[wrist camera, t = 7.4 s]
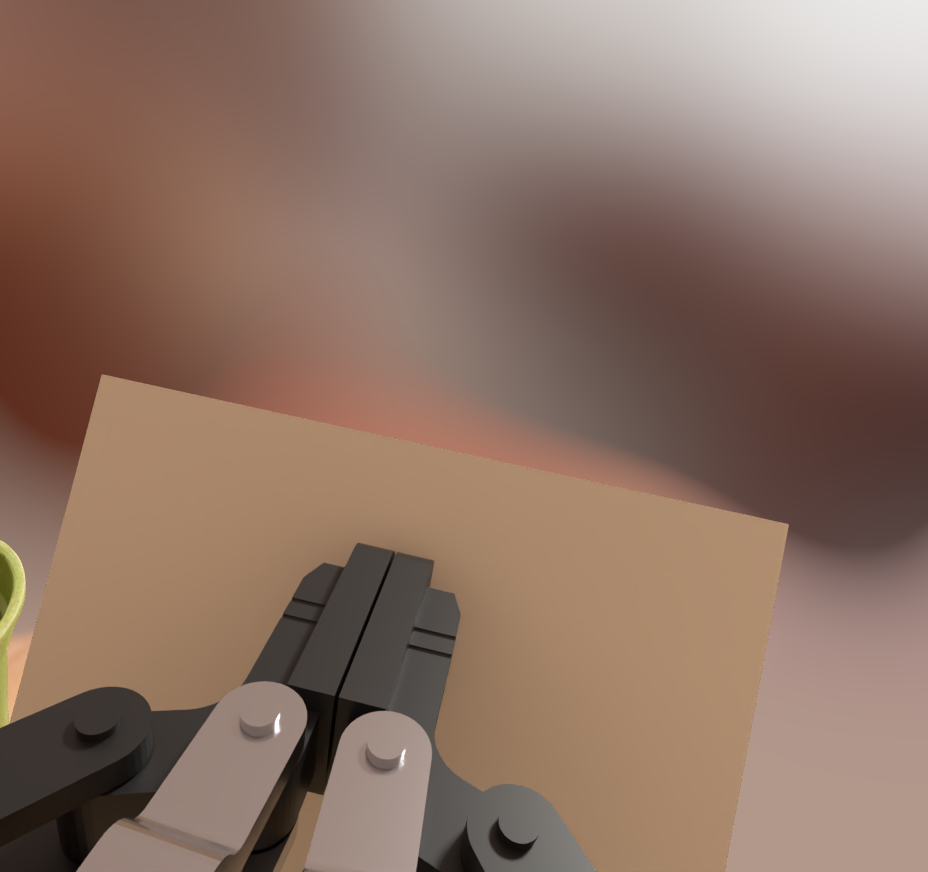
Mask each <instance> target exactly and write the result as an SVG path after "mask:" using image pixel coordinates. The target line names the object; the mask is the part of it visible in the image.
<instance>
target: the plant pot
mask: <svg viewBox="0 0 928 872" xmlns="http://www.w3.org/2000/svg"><path fill="white" fill-rule="evenodd" d="M25 594H26V583H25V574H24V569H23V566H22V563H21V561H20V559H19V557H18V556H17V554H16V553H15V552H14V551H13V550H12V549H11V548H10V547H9V546H8V545H7V544H5V543H4V542H3V541H1V540H0V728H1V727H3V726H6V725H8V724H9V715H8V669H7V647H8V645H9V642H10V639H11V636H12V631H13V627H14V625H15V623H16V621H17V619H18V617H19V615H20V613H21V610H22V607H23V604H24V599H25Z"/></svg>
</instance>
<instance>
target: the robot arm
mask: <svg viewBox="0 0 928 872" xmlns="http://www.w3.org/2000/svg"><path fill="white" fill-rule="evenodd" d="M433 567H434V560H430V559H426V558H422V557H417V556H413V555H409V554H404V553H400V552H397V553H396V555H395V551H392V550H388V549H384V548H380V547H375V546H371V545H367V544H362V543H357V544H356V546H355V547H354V549H353V551H352V553H351V556H350V558H349V560H348V562H347V564H346V566H345V567H341V566H337V565H332V564H328V563H322V564H321V565H320V566H318V567H317V568H316V569H314V570H313V571H311V572H310V573H309V574H307V575H306V576H305V577H303V579H302V581H301V582H300V584H299V586H298V588H297V590H296V591H295V593H294V595H293V597H292V600H291V601H290V602H289V604H288V605H287V607H286V609H285V611H284V613H283V616H282V618H280V620H279V621H278V623H277V625H276V627H275V628H274V630H273V632H272V634H271V636H270V637H269V639H268V641H267V643H266V644H265V646H264V648H263V650H262V652H261V653H260V655H259V657H258V659H257V660H256V662H255V664H254V666H253V667H252V669H251V671H250V673H249V675H248V676H247V678H246V679H245V681H244V682H243V684H242V685H241V686H240V687H238V688H236V689H234V690H232V691H231V692H229V693H228V694H227V695H226V696H224V697H223V698H222V699H221V700H220V701H219V702H217V703H215V704H212V705H209V706H206V707H201V708H197V709H188V710H166V711H151V708H150V705H149V703H148V702H147V700H146V699H145V698H144V697H143V696H142V695H140V694H139V693H137V692H135V691H133V690H131V689H127V688H123V687H101V688H96V689H92V690H89V691H86V692H83V693H81V694H78V695H76V696H74V697H71V698H69V699H66V700H64V701H62V702H59V703H57V704H55V705H52V706H50V707H48V708H45V709H43V710H41V711H38V712H36V713H34V714H31V715H29V716H27V717H24V718H22V719H20V720H17V721H15V722H13V723H10V724H8V725H6V726H3V727H1V728H0V872H281V869H282V867H283V865H284V863H285V861H286V859H287V857H288V854H289V852H290V850H291V848H292V846H293V844H294V841H295V838H296V835H297V829H298V818H299V812H300V810H301V807H302V805H303V802H304V799H305V797H306V794H307V792H311V793H315V794H319V795H324V792H325V790H326V792H325V795H324V799H323V802H322V806H321V810H320V813H319V817H318V820H317V824H316V828H315V831H314V835H313V838H312V842H311V846H310V849H309V853H308V856H307V860H306V863H305V866H304V869H303V871H302V872H596V870H595V868H594V867H593V865H592V864H591V862H590V861H589V859H588V858H587V856H586V855H585V853H584V852H583V850H582V849H581V847H580V846H579V844H578V843H577V841H576V840H575V838H574V837H573V835H572V833H571V832H570V830H569V829H568V827H567V826H566V824H565V823H564V821H563V820H562V818H561V817H560V815H559V814H558V812H557V811H556V809H555V808H554V807H553V806H552V804H551V803H550V802H549V801H548V800H547V799H546V798H544V797H543V796H542V795H540V794H539V793H537V792H535V791H534V790H532V789H530V788H527V787H524V786H520V785H515V784H502V785H497V786H494V787H491V788H489V789H487V790H485V791H484V792H482V791H481V790H479V789H478V788H476V787H474V786H473V785H471V784H469V783H468V782H466V781H465V780H463V779H462V778H460V777H459V776H457V775H456V774H455V773H454V772H453V771H452V770H451V769H449V767H448V766H447V765H446V764H445V762H444V761H443V759H442V758H441V756H440V754H439V752H438V749H437V747H436V742H435V729H436V724H437V720H438V715H439V711H440V707H441V703H442V698H443V694H444V690H445V685H446V681H447V677H448V672H449V668H450V663H451V659H452V654H453V649H454V645H455V640H456V636H457V631H458V626H459V622H460V617H461V613H460V610H459V607H458V604H457V600H456V597H455V594H454V593H450V592H446V591H442V590H437V589H433V588H430V583H431V578H432V573H433ZM326 787H327V788H326Z"/></svg>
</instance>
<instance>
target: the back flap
mask: <svg viewBox="0 0 928 872" xmlns="http://www.w3.org/2000/svg"><path fill="white" fill-rule="evenodd" d="M788 526H789V525H788V524H785V523H780V522H776V521H771V520H767V519H762V518H758V517H752V516H748V515H744V514H739V513H735V512H730V511H725V510H721V509H716V508H712V507H707V506H702V505H698V504H693V503H689V502H684V501H679V500H675V499H671V498H665V497H661V496H657V495H652V494H647V493H643V492H638V491H634V490H629V489H625V488H620V487H616V486H611V485H606V484H601V483H597V482H592V481H588V480H583V479H579V478H574V477H570V476H565V475H561V474H556V473H551V472H547V471H542V470H537V469H533V468H528V467H524V466H519V465H514V464H510V463H505V462H501V461H496V460H491V459H487V458H483V457H478V456H473V455H469V454H464V453H460V452H455V451H451V450H446V449H441V448H437V447H432V446H428V445H423V444H418V443H414V442H409V441H404V440H400V439H396V438H391V437H386V436H381V435H377V434H373V433H368V432H363V431H358V430H354V429H350V428H345V427H341V426H336V425H331V424H327V423H322V422H318V421H313V420H308V419H304V418H299V417H295V416H290V415H285V414H281V413H276V412H272V411H267V410H263V409H258V408H253V407H249V406H244V405H239V404H235V403H230V402H226V401H221V400H216V399H212V398H207V397H203V396H198V395H194V394H189V393H185V392H180V391H175V390H171V389H166V388H161V387H157V386H153V385H148V384H144V383H139V382H134V381H130V380H125V379H121V378H116V377H111V376H107V375H102V376H101V380H100V384H99V388H98V391H97V395H96V399H95V403H94V407H93V410H92V414H91V418H90V422H89V425H88V429H87V433H86V437H85V441H84V444H83V448H82V452H81V456H80V459H79V463H78V467H77V471H76V475H75V479H74V482H73V486H72V489H71V494H70V497H69V501H68V505H67V509H66V513H65V516H64V520H63V524H62V528H61V531H60V535H59V539H58V543H57V546H56V550H55V554H54V558H53V562H52V566H51V569H50V573H49V577H48V580H47V584H46V588H45V592H44V595H43V599H42V603H41V607H40V611H39V615H38V618H37V622H36V626H35V630H34V633H33V637H32V641H31V645H30V648H29V652H28V656H27V660H26V664H25V667H24V671H23V675H22V679H21V683H20V686H19V690H18V694H17V698H16V701H15V705H14V709H13V713H12V717H11V720H10V723H13V722H15V721H17V720H20V719H22V718H24V717H27V716H29V715H31V714H34V713H36V712H38V711H41V710H43V709H45V708H48V707H50V706H52V705H55V704H57V703H59V702H62V701H64V700H66V699H69V698H71V697H74V696H76V695H78V694H81V693H83V692H86V691H89V690H92V689H96V688H101V687H123V688H127V689H131V690H133V691H135V692H137V693H139V694H140V695H142V696H143V697H144V698H145V699H146V700H147V702H148V703H149V705H150V708H151V711H166V710H188V709H197V708H201V707H206V706H209V705H212V704H215V703H217V702H219V701H220V700H221V699H222V698H223V697H224V696H226V695H227V694H228V693H229V692H231V691H232V690H234V689H236V688H238V687H240V686H241V685H242V684H243V682H244V681H245V679H246V678H247V676H248V675H249V673H250V671H251V669H252V667H253V666H254V664H255V662H256V660H257V659H258V657H259V655H260V653H261V652H262V650H263V648H264V646H265V644H266V643H267V641H268V639H269V637H270V636H271V634H272V632H273V630H274V628H275V627H276V625H277V623H278V621H279V620H280V618H282V616H283V613H284V611H285V609H286V607H287V605H288V604H289V602H290V601H291V600H292V597H293V595H294V593H295V591H296V590H297V588H298V586H299V584H300V582H301V581H302V579H303V577H305V576H306V575H307V574H309V573H310V572H311V571H313V570H314V569H316V568H317V567H318V566H320V565H321V564H322V563H328V564H332V565H337V566H341V567H345V566H346V564H347V562H348V560H349V558H350V556H351V553H352V551H353V549H354V547H355V546H356V544H357V543H362V544H367V545H371V546H375V547H380V548H384V549H388V550H392V551H395V555H396V553H397V552H400V553H404V554H409V555H413V556H417V557H422V558H426V559H430V560H434V567H433V573H432V578H431V583H430V588H433V589H437V590H442V591H446V592H450V593H454V594H455V597H456V600H457V604H458V607H459V610H460V613H461V617H460V622H459V626H458V631H457V636H456V640H455V645H454V649H453V654H452V659H451V663H450V668H449V672H448V677H447V681H446V685H445V690H444V694H443V698H442V703H441V707H440V711H439V715H438V720H437V724H436V729H435V742H436V747H437V749H438V752H439V754H440V756H441V758H442V759H443V761H444V762H445V764H446V765H447V766H448V767H449V769H451V770H452V771H453V772H454V773H455V774H456V775H457V776H459V777H460V778H462V779H463V780H465V781H466V782H468V783H469V784H471V785H473V786H474V787H476V788H478V789H479V790H481V791H482V792H484V791H485V790H487V789H489V788H491V787H494V786H497V785H502V784H515V785H520V786H524V787H527V788H530V789H532V790H534V791H535V792H537V793H539V794H540V795H542V796H543V797H544V798H546V799H547V800H548V801H549V802H550V803H551V804H552V806H553V807H554V808H555V809H556V811H557V812H558V814H559V815H560V817H561V818H562V820H563V821H564V823H565V824H566V826H567V827H568V829H569V830H570V832H571V833H572V835H573V837H574V838H575V840H576V841H577V843H578V844H579V846H580V847H581V849H582V850H583V852H584V853H585V855H586V856H587V858H588V859H589V861H590V862H591V864H592V865H593V867H594V868H595V870H596V872H725V868H726V862H727V857H728V852H729V846H730V840H731V835H732V830H733V825H734V819H735V813H736V808H737V802H738V797H739V792H740V787H741V781H742V775H743V770H744V764H745V759H746V754H747V749H748V743H749V738H750V732H751V727H752V721H753V716H754V710H755V705H756V700H757V694H758V689H759V683H760V678H761V673H762V667H763V661H764V656H765V651H766V645H767V640H768V635H769V629H770V624H771V618H772V613H773V607H774V601H775V596H776V591H777V586H778V580H779V575H780V569H781V564H782V558H783V553H784V547H785V542H786V537H787V531H788ZM326 788H327V787H326ZM325 792H326V790H325ZM325 792H324V795H325ZM324 795H319V794H315V793H311V792H307V794H306V797H305V799H304V802H303V805H302V807H301V810H300V812H299V818H298V829H297V835H296V838H295V841H294V844H293V846H292V848H291V850H290V852H289V854H288V857H287V859H286V861H285V863H284V865H283V867H282V869H281V872H302V871H303V869H304V866H305V863H306V860H307V856H308V853H309V849H310V846H311V842H312V838H313V835H314V831H315V828H316V824H317V820H318V817H319V813H320V810H321V806H322V802H323V799H324Z"/></svg>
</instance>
